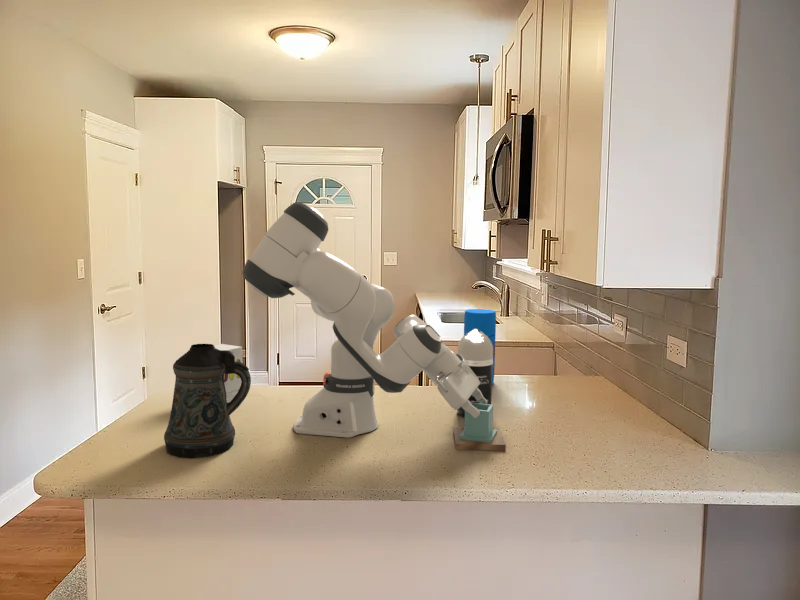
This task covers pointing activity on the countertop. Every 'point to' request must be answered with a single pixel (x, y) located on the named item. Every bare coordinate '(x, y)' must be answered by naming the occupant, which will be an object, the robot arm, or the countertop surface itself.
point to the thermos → (482, 326)
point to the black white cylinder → (478, 362)
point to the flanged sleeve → (479, 425)
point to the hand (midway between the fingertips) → (481, 410)
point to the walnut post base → (462, 444)
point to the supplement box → (231, 380)
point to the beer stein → (204, 402)
